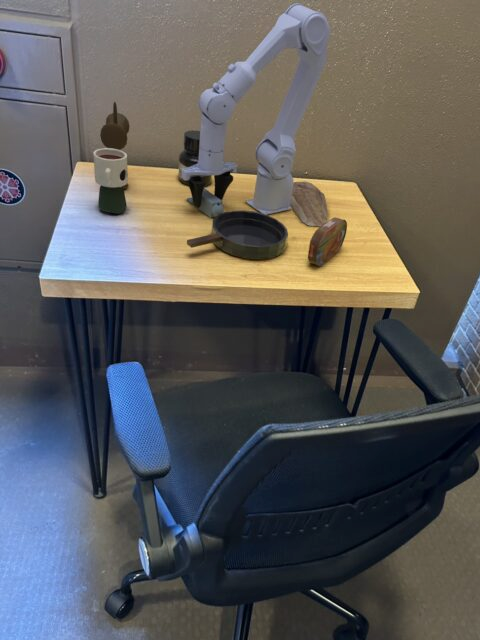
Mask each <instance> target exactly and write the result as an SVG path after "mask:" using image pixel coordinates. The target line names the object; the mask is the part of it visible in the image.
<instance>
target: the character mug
mask: <svg viewBox="0 0 480 640" xmlns="http://www.w3.org/2000/svg"><path fill="white" fill-rule="evenodd" d="M92 154H93V171H94V181H95V183H96V184H97V185H99V189H98V190H99V191H98V201H97V202H98V204H97V208H98V209H99V210H100V211H102V212H106V213H110V214H122V213H123V214H124V212H126V211H127V199H126V194H125V189H123V187H122V186H124V185H126V184H127V182H129V178H128V177H129V171H128V154H127V153H126V152H125V151H123V150H122V149H121V150H118V149H113V148H107V147H103V148H102V147H101V148H97V149H95V150H94V151H93V153H92Z"/></svg>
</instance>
